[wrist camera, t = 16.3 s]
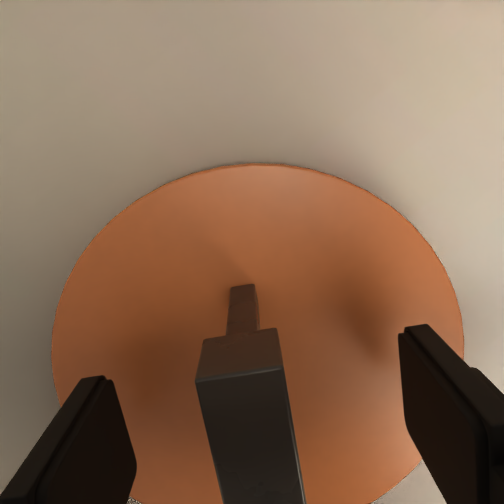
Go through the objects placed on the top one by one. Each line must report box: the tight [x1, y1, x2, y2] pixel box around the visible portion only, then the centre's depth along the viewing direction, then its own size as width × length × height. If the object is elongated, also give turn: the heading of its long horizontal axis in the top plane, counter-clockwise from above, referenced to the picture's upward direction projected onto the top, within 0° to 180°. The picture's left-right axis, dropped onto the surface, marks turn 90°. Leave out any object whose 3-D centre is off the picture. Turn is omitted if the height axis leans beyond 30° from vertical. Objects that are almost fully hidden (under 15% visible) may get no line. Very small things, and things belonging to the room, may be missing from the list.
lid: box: [51, 163, 464, 504], centre depth 11 cm, size 12×12×6 cm
